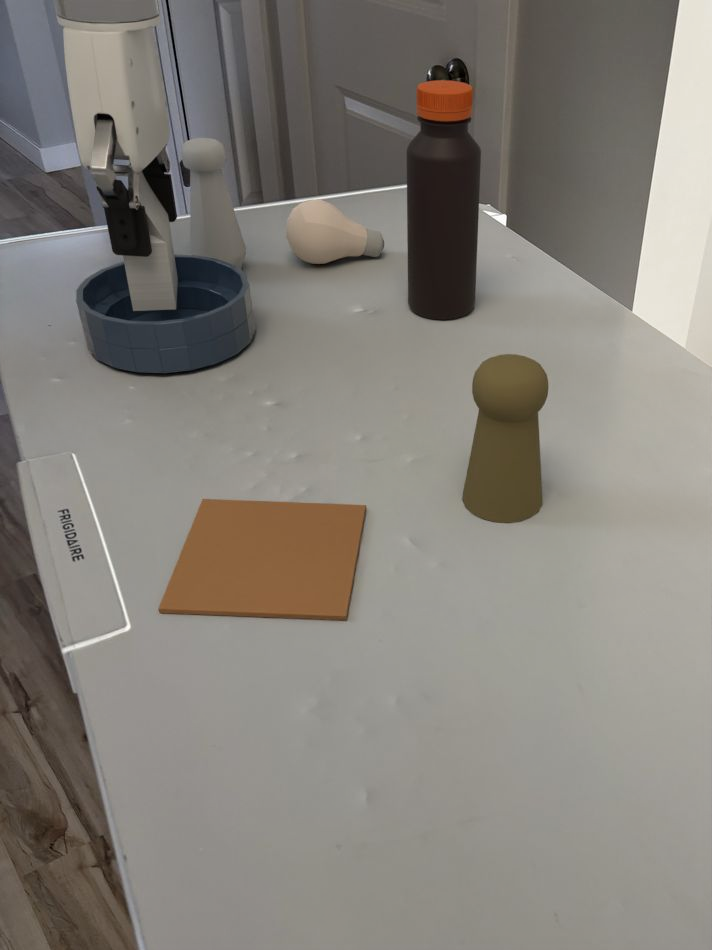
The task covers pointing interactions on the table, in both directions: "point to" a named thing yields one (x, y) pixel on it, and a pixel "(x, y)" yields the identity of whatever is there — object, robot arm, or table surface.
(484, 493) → the pepper shaker
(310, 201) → the light bulb
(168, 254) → the white milk carton
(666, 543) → the table surface
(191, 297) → the bowl
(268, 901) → the table surface
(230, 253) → the salt shaker
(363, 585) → the table surface
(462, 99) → the bottle
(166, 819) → the table surface
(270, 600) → the mat
